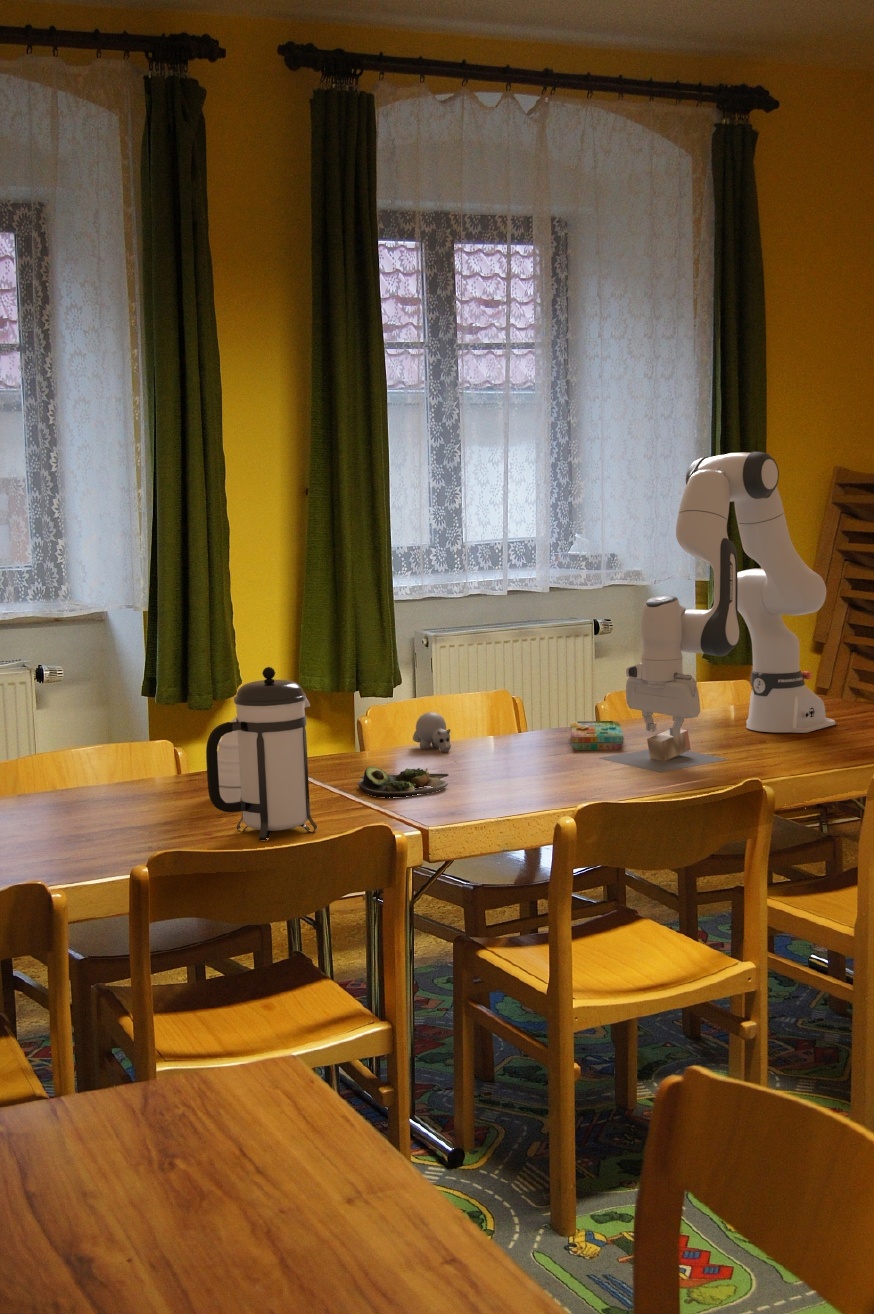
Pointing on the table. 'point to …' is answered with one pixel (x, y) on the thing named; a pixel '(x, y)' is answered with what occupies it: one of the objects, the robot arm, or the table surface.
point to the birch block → (668, 745)
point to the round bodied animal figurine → (432, 732)
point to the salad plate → (400, 782)
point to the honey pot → (229, 767)
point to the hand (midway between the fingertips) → (663, 733)
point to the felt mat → (677, 762)
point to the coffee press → (267, 756)
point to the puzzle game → (596, 735)
